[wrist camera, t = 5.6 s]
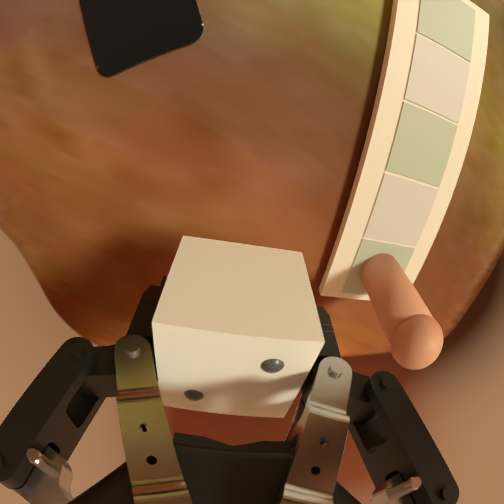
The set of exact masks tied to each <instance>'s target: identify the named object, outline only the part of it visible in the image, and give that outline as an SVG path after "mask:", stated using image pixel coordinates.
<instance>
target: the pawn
mask: <svg viewBox="0 0 504 504" xmlns="http://www.w3.org/2000/svg"><path fill="white" fill-rule="evenodd" d="M360 279H361V281H362V283H363V285H364V287H365V290H366V292H367V294H368V296H369V298H370V300H371V302H372V305H373V307H374V309H375V311H376V313H377V316H378V318H379V320H380V322H381V325H382V327H383V329H384V332H385V334H386V336H387V339H388V341H389V343H390V347H391V352H392V355H393V357H394V359H395V360H396V361H397V362H398V363H399V364H400V365H401V366H403V367H405V368H408V369H414V370H415V369H421V368H424V367H427V366H428V365H430V364H431V363H432V362H434V361H435V359H436V358H437V357H438V355H439V354H440V352H441V348H442V345H443V333H442V330H441V327H440V325H439V324H438V322H437V321H436V320H435V319H434V318H433V317H432V315H431V313H430V312H429V310H428V308H427V307H426V305H425V303H424V302H423V300H422V299H421V297H420V295H419V294H418V292H417V291H416V289H415V287H414V286H413V284H412V283H411V281H410V280H409V278H408V277H407V275H406V274H405V272H404V271H403V269H402V268H401V266H400V265H399V263H398V262H397V260H396V259H395V258H394V257H393V256H392V255H390V254H387V253H381V254H377V255H374V256H372V257H371V258H369V259H368V260H367V261H366V262H365V263H364V265H363V266H362V268H361V271H360Z"/></svg>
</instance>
